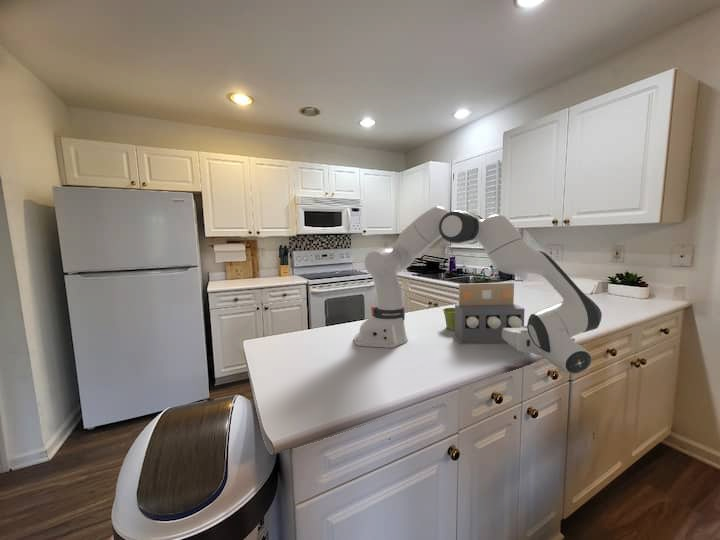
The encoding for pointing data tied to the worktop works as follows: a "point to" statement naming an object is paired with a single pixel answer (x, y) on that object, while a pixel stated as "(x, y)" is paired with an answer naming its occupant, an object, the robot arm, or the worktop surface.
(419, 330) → the worktop surface
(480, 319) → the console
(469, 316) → the left button
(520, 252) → the robot arm
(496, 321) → the middle button
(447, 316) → the plant pot
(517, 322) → the right button
